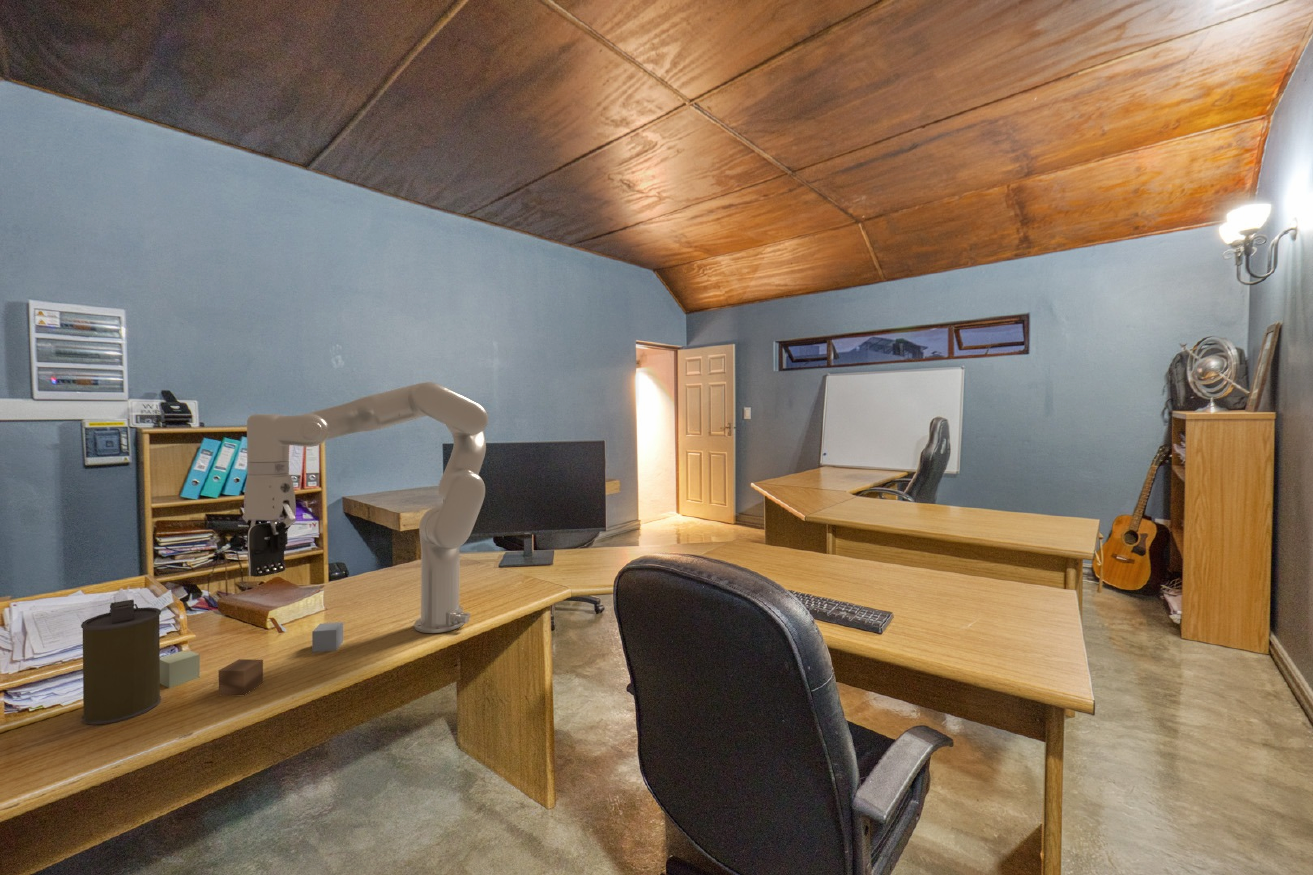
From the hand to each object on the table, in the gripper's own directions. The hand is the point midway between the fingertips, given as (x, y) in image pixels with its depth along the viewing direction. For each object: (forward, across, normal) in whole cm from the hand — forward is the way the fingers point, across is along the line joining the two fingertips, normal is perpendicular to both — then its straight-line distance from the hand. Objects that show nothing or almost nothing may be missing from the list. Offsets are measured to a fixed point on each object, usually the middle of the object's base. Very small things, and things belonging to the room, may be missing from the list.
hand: (269, 549), depth 118 cm
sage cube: (+25, +9, +12) cm, 29 cm away
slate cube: (+25, -6, -10) cm, 28 cm away
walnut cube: (+25, -7, +11) cm, 28 cm away
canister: (+25, +6, +23) cm, 35 cm away
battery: (+6, 0, 0) cm, 6 cm away
